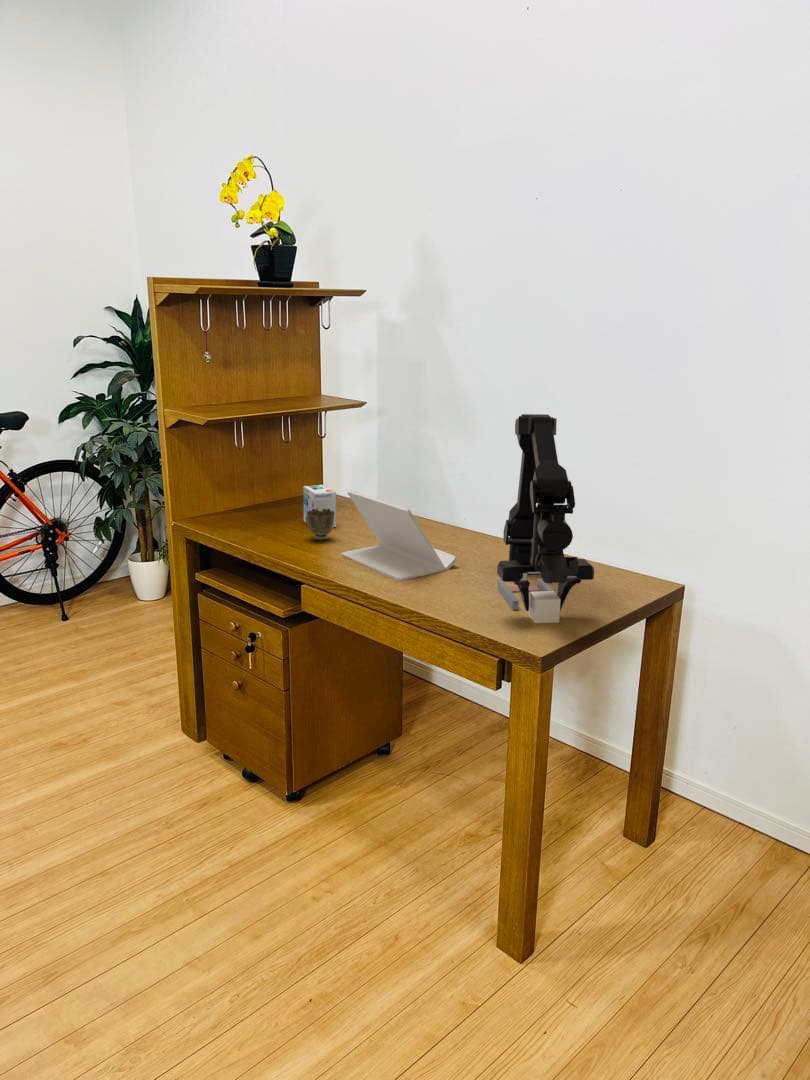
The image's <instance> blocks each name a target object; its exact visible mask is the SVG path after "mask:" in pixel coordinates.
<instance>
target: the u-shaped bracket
mask: <svg viewBox="0 0 810 1080" xmlns="http://www.w3.org/2000/svg"><path fill="white" fill-rule="evenodd" d="M497 590H498V591H499V593H500V594H501V596H502V597H503V599H505V601H506V603H507V604H508V606H509V607H510V608H511V610H512V611H517V610H519V599H518V598H517V596H516V595H515V593H520V590H519V588H518V586H517V585H513V586H508V585H507V582H505V581H502V579H497ZM537 591H554V590H553V588H552V587H551V586H550V584H548V583H545V582H544V581H543V580H542V578H537V580H536V585H529V593H530V592H537ZM555 594H556V595H557V593H556V592H555Z"/></svg>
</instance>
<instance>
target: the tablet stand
mask: <svg viewBox="0 0 810 1080" xmlns="http://www.w3.org/2000/svg"><path fill="white" fill-rule="evenodd" d="M346 494H348V497H349V498H350V499H351V501H352V503H353V504H354V505H355V507H356V508H357V510H358V511H359V513H360V515H361V516H362V517H363V520H364V521H365V522H366V523H367V525H368V526H369V528H370V530H371V531H372V532H373V534H374V536H375V537H376V539H377V540H378V544H377V545H373V546H368V547H363V548H357V549H354V550H348V551H342V552H341V554H340V555H341V556H342V555H343V556H346V557H348V558H350V559H352V560H355V561H357V562H359V563H361V564H364V565H366V566H368V567H370V568H372V569H371V570H373V569H374V570H373V571H375V570H376V571H375V572H377V571H378V572H377V573H380V574H382V575H384V574H385V575H384V576H386V575H387V577H388V578H390V579H394V581H395V580H396V581H405V580H410V579H414V578H419V577H423V576H426V575H432V574H435V573H439V572H444V571H449V570H450V568H451V567H453V566H454V564H456V562H457V561H458V557H456V556H455V555H454V554H450V553H448V552H445V551H443V550H439V549H437V548H436V547H435V548H434V547H433V545H432V543H431V542H430V540H429V539H428V537H427V535H426V534H425V532H424V530H423V529H422V528H421V526H420V524H419V522H418V521H417V519H416V518H415V516H414V515H413V512H412V511H411V510H410V509H409V508H407V507H405V506H401V505H398V504H395V503H392V502H389V501H386V500H384V499H380V498H377V497H374V496H370V495H367V494H364V493H361V492H358V491H356V490H355V491H354V490H351V489H349V490H348V491H347V492H346ZM343 556H342V557H343ZM348 558H347V559H348ZM350 559H349V560H350ZM352 560H351V561H352ZM357 562H356V563H357ZM359 563H358V564H359ZM361 564H360V565H361ZM364 565H363V566H364ZM366 566H365V567H366ZM368 567H367V568H368ZM370 568H369V569H370Z"/></svg>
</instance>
